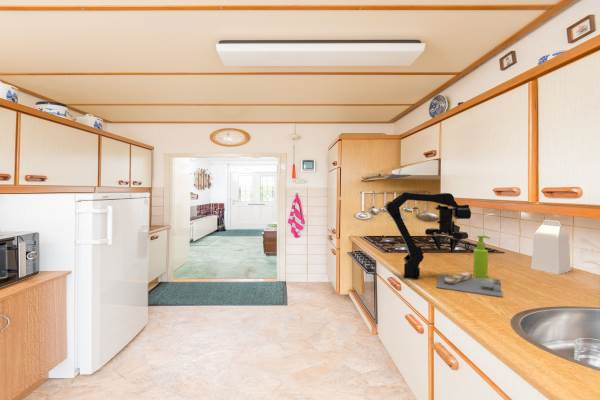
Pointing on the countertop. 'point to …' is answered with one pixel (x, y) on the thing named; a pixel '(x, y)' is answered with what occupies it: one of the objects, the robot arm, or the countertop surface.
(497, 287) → the block
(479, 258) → the soap dispenser
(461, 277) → the link
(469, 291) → the board
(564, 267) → the milk
